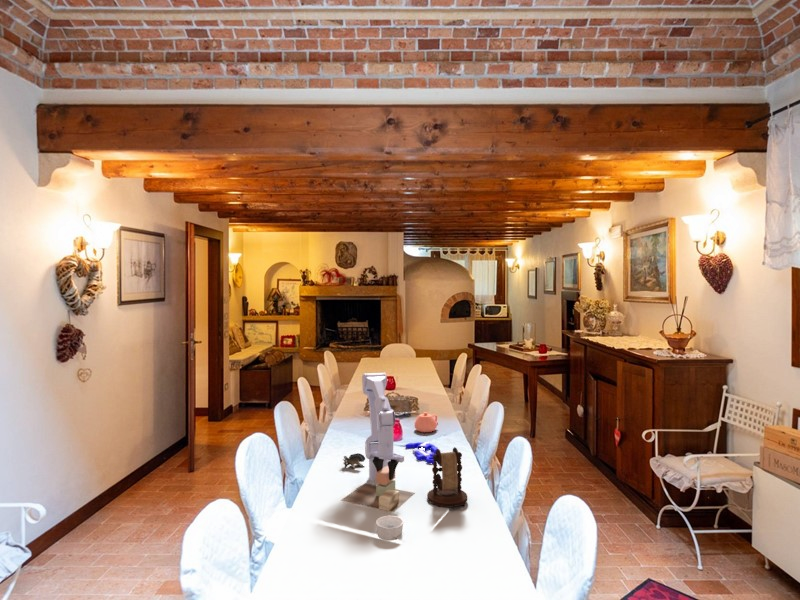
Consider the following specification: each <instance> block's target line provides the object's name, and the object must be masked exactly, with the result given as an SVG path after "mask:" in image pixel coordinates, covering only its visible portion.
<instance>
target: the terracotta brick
mask: <svg viewBox="0 0 800 600" xmlns="http://www.w3.org/2000/svg"><path fill="white" fill-rule="evenodd" d="M395 478H396V471H395V472H394V477H393V479H392V480H395ZM392 480H389V467H388V466H385V467H384V468H382V469H381V470H380V471H378V472H377V473H376V481H375V483H376V484H375V485H378V484H381V485H387V484H388V483H389V482H391V481H392Z"/></svg>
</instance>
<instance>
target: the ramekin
mask: <svg viewBox="0 0 800 600" xmlns="http://www.w3.org/2000/svg"><path fill="white" fill-rule="evenodd" d="M403 525H404V520H403V519H402V518H401V517H399V516H396V515H385V516H384V515H383V516H380V517H378V518H377V519H376V520H375V526H376V535H377V537H378V538H379V539H381V540H385V541H395V540H398V538H397V537H399V536H401V535H402V533H403V527H404V526H403Z"/></svg>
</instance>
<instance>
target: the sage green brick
mask: <svg viewBox="0 0 800 600" xmlns="http://www.w3.org/2000/svg"><path fill="white" fill-rule="evenodd" d="M375 485H376V496H378V497H380V496H381V495H383V494H384V493H385V492H386V491H388V490H389V489H390V490H395V489H396V479H393V480H392V481H391V482H389V483H388V484H387V485H381V484H375Z"/></svg>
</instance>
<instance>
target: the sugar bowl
mask: <svg viewBox="0 0 800 600" xmlns="http://www.w3.org/2000/svg"><path fill="white" fill-rule="evenodd" d="M438 425H439V423H438V416H437V414H431V413H429V412H426V411H423V413H421V414H419V415H418V416H417V417H416V419H415V421H414V428H415V430H416V431H418V432H421V433H422V432H426V433H432V431H433V432H435V430H436V429H437V427H438Z"/></svg>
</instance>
